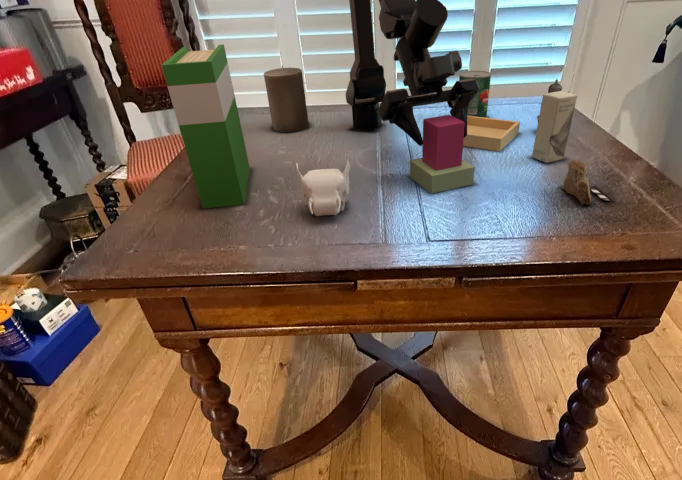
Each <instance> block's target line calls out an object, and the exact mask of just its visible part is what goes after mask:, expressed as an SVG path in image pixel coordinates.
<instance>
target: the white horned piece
mask: <svg viewBox="0 0 682 480" xmlns="http://www.w3.org/2000/svg"><path fill="white" fill-rule="evenodd" d="M351 170H352V167H351V164H350V162H349V159H348V158H347V159H346V166H345V168H344V170H343V172H341V170H340V169H338V168H322V169H311V170H308V171H307V172H306V174H305V175H302V174H301V172H300V171H299V164H298V162H296V174H297V177H298V178H297V179H298V180H299V184H300V197H301V199H305V202H306V205H307V208H308V210H309V212H310V213H311V215H313V214H314V215H315V216H316V217H320V216H338V214H339V213H340V212H344V210H345V206H346V199H347V198H346V196H349V195H350V176H349V174H350V172H351ZM305 197H306V198H305Z"/></svg>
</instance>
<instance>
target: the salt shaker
mask: <svg viewBox="0 0 682 480" xmlns="http://www.w3.org/2000/svg"><path fill="white" fill-rule="evenodd" d="M554 81H555V82H553V83H551V84H550V85H549V86H548V88H547V93H552V92H558V91H563V86H562V84H561V83H559V80H558V78H556V79H555V80H554ZM539 115H540V114H538V115H537V116H536V119H537V121H538V120H539Z"/></svg>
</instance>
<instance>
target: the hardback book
mask: <svg viewBox="0 0 682 480" xmlns="http://www.w3.org/2000/svg"><path fill="white" fill-rule="evenodd" d="M161 69H162V73H163V77H164V80H165V84H166V87H167V90H168V93H169V96H170V97H169V98H170V100H171V104H172V107H173V110H174V114H175V117H176V121H177V125H178V128H179V132H180V135H181V139H182V142H183V146H184V149H185V152H186V155H187V159H188V163H189V166H190V170H191V173H192V177H193V180H194V183H195V187H196V190H197V194H198V198H199V200H200V204H201V208H202V209H203V210H204V209H212V208H221V207H233V206H240V205H244V204H245V200H246V193H247V188H248V183H249V177H250V172H251V167H250V164H249V163H250V162H249V158H248V152H247V147H246V143H245V139H244V134H243V133H244V132H243V129H242V124H241V119H240V115H239V109H238V104H237V101H236V96H235V91H234V86H233V81H232V77H231V72H230V66H229V63H228V57H227V52H226V48H225V44H218V45H217V46H216V47H215V49H203V50H191V51H190V50H189V46H183V47H181V48H180V49H178V51H176V52H175V53H173V55H172V56H170V57H169V58H168V59H167V60H166V61H164V62H163V63H162V64H161Z"/></svg>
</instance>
